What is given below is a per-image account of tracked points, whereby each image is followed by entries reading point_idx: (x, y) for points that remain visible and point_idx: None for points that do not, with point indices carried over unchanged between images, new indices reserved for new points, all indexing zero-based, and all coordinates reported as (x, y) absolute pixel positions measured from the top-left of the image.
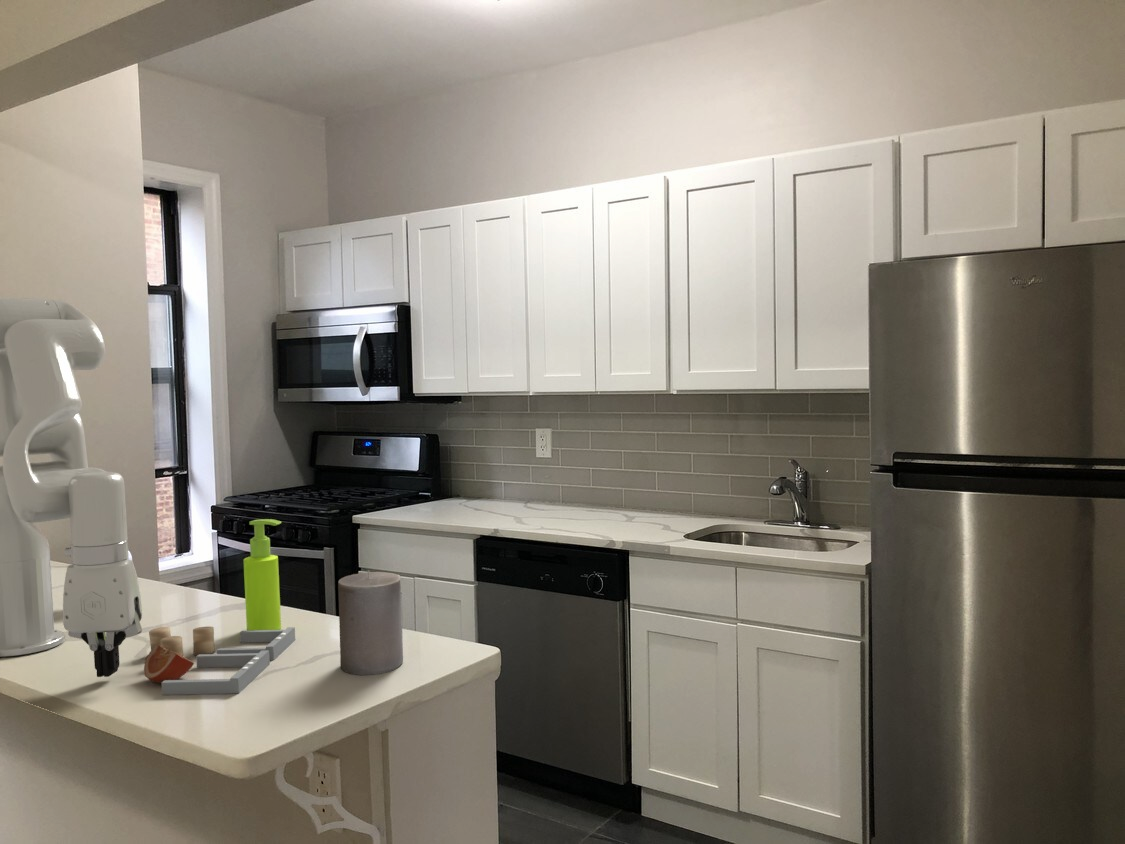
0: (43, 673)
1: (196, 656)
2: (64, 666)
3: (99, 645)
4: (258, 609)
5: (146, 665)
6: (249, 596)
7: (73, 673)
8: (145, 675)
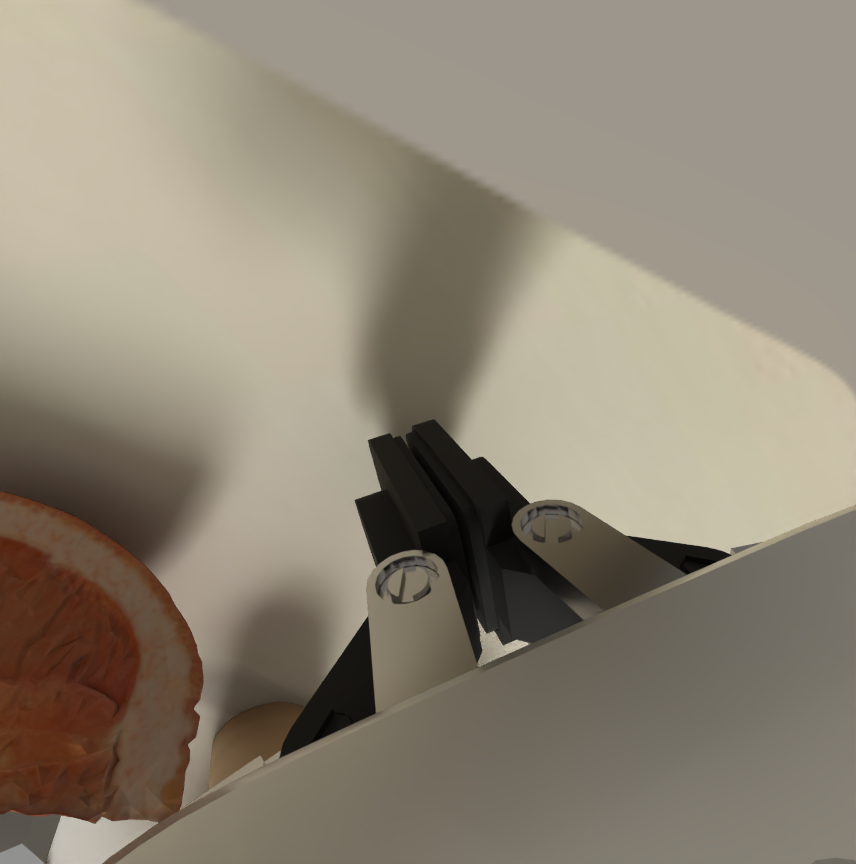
0: (752, 456)
1: (20, 843)
2: (713, 539)
3: (520, 566)
4: None
5: (141, 606)
6: None
7: (638, 493)
8: (77, 521)
